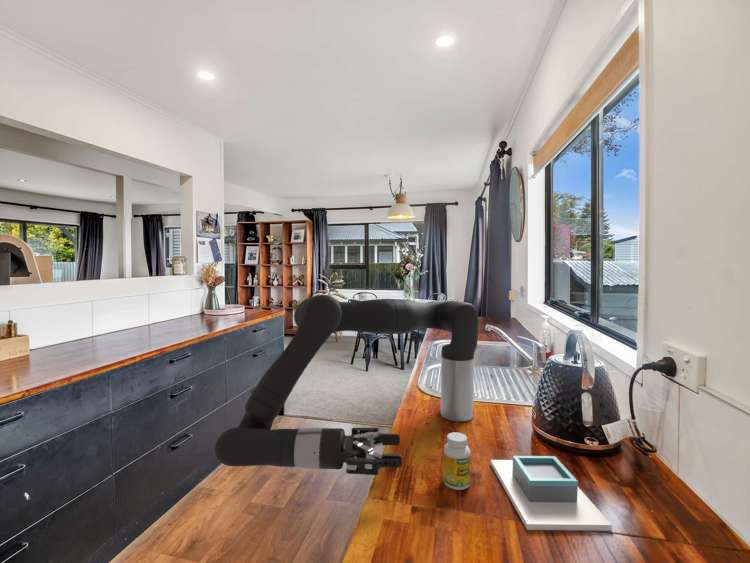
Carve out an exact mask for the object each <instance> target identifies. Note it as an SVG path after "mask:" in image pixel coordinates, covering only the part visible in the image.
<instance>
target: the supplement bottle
mask: <svg viewBox="0 0 750 563" xmlns="http://www.w3.org/2000/svg"><path fill="white" fill-rule="evenodd" d="M471 454H472V453H471V449H470V447H469V446H468V436H467V435H465V434H464V433H462V432H457V431H456V432H455V431H454V432H453V431H452V432H450V433H448V434H447V435H446V444H445V445H444V446H443V466H442V467H443V468H442V470H443V471H442V472H443V473H442V474H443V483H444V484H445V485H446V487H448V488H450V489H451V490H456V491H462V490H466V489H468V488H469V487H470V485H471V465H472V464H471V460H472V459H471V458H472V455H471Z"/></svg>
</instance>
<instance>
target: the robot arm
mask: <svg viewBox="0 0 750 563" xmlns="http://www.w3.org/2000/svg"><path fill="white" fill-rule="evenodd" d="M293 317H294V318H293V320H294V323H295V325H296V326H297V329H296V331H295V333H294V335H293V337H292V339H291V340H290V342H289V343H288V345H287V346H286V347H285V349H284V350H283V351H282V352H281V353H280V355H279V356H278V357H277V358H276V359H275V360H274V362H273V363H272V364H271V365H270V366H269V367H268V369H267V370H266V371H265V373H264V374H263V376H261V378H260V379H259V382H258V383H257V385H256V386H255V387H254V389H253V391H252V393H251V394H250V396H249V397H248V399H247V401H246V402H245V404H244V405H245V406H244V411H245V413H244V416H243V417H242V420H241V421H240V423H239V425H238V426H236V427H231V428H229V429H226V430H225V431H224V432H222V433H221V434H220V436H218V437H217V440H216V441H215V444H214V445H215V446H214V454H215V456H216V458H217V460H218V461H219V462H220V463H221V464H223V465H225V466H226V467H253V466H254V467H255V466H272V467H281V468H301V469H306V470H307V469H309V470H341V469H343V467H344V464H345V463H346V464H345V465H346V466H345V468H346V469H345V472H346V474H348V475H350V474H351V475H352V474H353V475H365V476H377V475H379V471H380V470H382V469H383V468H402V466H403V456H402V454H399V453H398V454H397V453H388V454H387V453H382V454H381V453H379V452H376V451H375V450H374V448H375V447H378V446H381V445H382V446H399V445H400V443H401V442H400V440H401V439H400V438H401V437H400V436H401V435H400V434H399V433H382V431H380V429H379V427H352V428H351V429H350V430H351V433H350V435H346V432H345V429H344V428H341V427H339V428H335V427H331V428H330V427H307V428H278V429H277V428H276V429H272V427H273V423H274V422H275V419H276V418H277V416H278V415H279V414H280V412H281V410H282V408H283V406H284V404H285V403H286V402H287V400H288V398H289V397H290V394H291V393H292V392H293V389H294V387H295V386H296V384H297V383H298V381H299V379H300V378H301V376H302V375H303V373H304V371H305V370H306V369H307V367H308V365H309V364H310V362H311V361H312V360H313V358H314V357H315V355H316V354H317V353H318V351H319V350H320V349H321V347H322V346H324V344H325V343H326V341H327V340H328V338H330V337H331V335H332V334H333V333H334V332H348V331H349V332H358V333H366V334H367V333H368V334H376V335H379V334H380V335H402V334H409V333H412V332H416V331H418V330H421V329H431V330H432V329H434V330H440V331H445V332H449V333H451V337H450V343H447V344H444V345H443V346H442V347H441V352H440V353H441V358H440V359H441V360H440V361H441V362H440V366H441V367H440V368H441V369H440V415H441V417H442V418H443V419H446V420H448V421H452V422H467V421H471V420H472V419H473V417H474V389H475V388H474V382H475V381H474V380H475V377H474V376H475V373H474V372H475V353H476V349H477V346H478V338H479V336H478V335H479V321H480V320H479V312H478V310H477V308H476V306H474V305H473V304H472V303H469V302H465V301H458V300H443V301H436V302H433V301H432V302H420V301H417V300H416V301H415V300H411V299H404V298H376V299H367V300H359V301H349V302H348V301H347V302H346V301H338V299H336V298H335V297H333V296H331V295H328V294H318V295H314V296H310V297H307V298H306V299H305V298H304V299H303V300H302V301H301V302H300V303H298V305H297V307H296V308H295V310H294V314H293Z"/></svg>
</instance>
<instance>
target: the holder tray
mask: <svg viewBox="0 0 750 563" xmlns="http://www.w3.org/2000/svg"><path fill="white" fill-rule="evenodd" d="M490 466H491V468H492V470H493V471H494V473H495V475H496V477H497V479H498V480H499V483H500V484H501V485H502V487H503V489H504V491H505V493H506V494H507V496H508V498H509V500H510V502H511V503H512V505H513V507H514V508H515V511H516V512H517V515H518V516H519V518H520V520H521V521H522V523H523V525H524V527H525V528H526V531H586V532H588V531H595V532H596V531H598V532H599V531H603V532H605V531H606V532H611V531H612V530H613V525H612V523H611V522H610V521H609V520H608V519H607V518H606V516H604V514H603V513H602V512H601V511H600V510H599V508H597V506H596V505H595V504H594V503H593V502H592V501H591V499H590V498H589V497H588V496H587V495H586V494H585V492H583V491H582V489H581V488H579V486H578V485H579V480H577V479H576V477H575V476H574V475H573V474H572V473H571V472H570V470H568V468H566V466H564V464H563V463H562V462H561V461H560V459H558V458H557V456H555V455H541V456H540V455H512V459H490Z"/></svg>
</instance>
